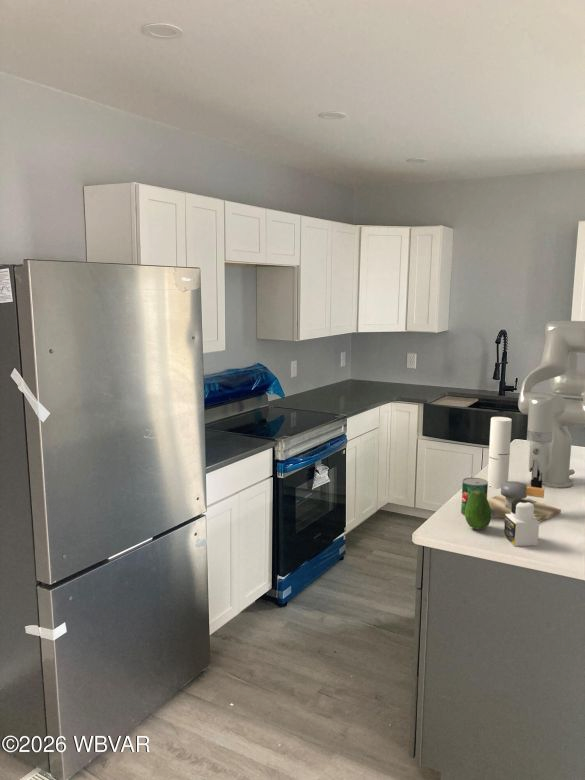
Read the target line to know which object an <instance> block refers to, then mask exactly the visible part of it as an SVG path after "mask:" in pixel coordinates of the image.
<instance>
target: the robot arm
mask: <svg viewBox="0 0 585 780" xmlns="http://www.w3.org/2000/svg"><path fill="white" fill-rule="evenodd" d="M544 330H545V334H544V335H545V341H544V342H545V343H544V347H543V352H542V357H541V360H540V364H539V366H537V367H535V368H534V369H533V370H531V371H530V373H528V375H526V377H525V378H524V380H523V382H522V383H521V384H522V385H521V387H520V392H519V395H518V402H517V404H518V405H517V407H518V409H519V411H520V412H521V413H522V414H524V415H527V429H526V430H527V433H526V440H527V441H528V442H529V455H528V472H529V473H531V478H530V487H537V488H543V486H546V487H550V488H561V489H562V488H569V487H572V486H573V485H574V481H573V479H571V478H570V476H572V475H574V474H575V472H576V471H575V470H574V469H573V468H572V469H570V464H571V453H572V443H573V442H572V435H571V432H570V431H569V430H568V428H567V427H573V428H574V427H576V428H585V370H581V369H578V362H579V361H578V359H579V357H578V354H579V353H580V354H581V353H582V354H584V353H585V321H583V320H563V319H562V320H552V321H549V322H547V323H546V325H545V328H544ZM577 353H578V354H577ZM547 380H549V388H550V391H551V393H547V392H538V391H532V390H533V388H534V387H536V385H539V384H540V383H542V382H545V381H547ZM563 396H568V397H578V398H582V400H576V399H568V398H567V399H566V398H564V397H563Z"/></svg>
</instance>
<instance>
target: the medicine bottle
mask: <svg viewBox="0 0 585 780" xmlns="http://www.w3.org/2000/svg"><path fill="white" fill-rule="evenodd" d="M533 515H534V504H533V503H532V502H530V501H528V500H524V499H517V500H514V501H513V502H512V507H511V514H505V518H504V528H503V529H504V531H503V536H504V538H505V539H506V540H507V541H508V542H509V543H510V544H511V545H512V546H514V547H524V546H525V547H528V546H529V547H530V546H538V544H539V531H540V530H539V529H540V521H539V522H538V521H537V520H536V519H535V518H533Z"/></svg>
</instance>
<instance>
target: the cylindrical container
mask: <svg viewBox="0 0 585 780" xmlns="http://www.w3.org/2000/svg"><path fill="white" fill-rule="evenodd" d="M512 422H513V420H512V418H510V417H507V416H506V417H505V416H492V417H491V418H490V429H489V447H488V448H489V450H488V468H487V481H488V485H489V486H491V487H490V488H492V487H494V488H493V489H499V488H501V484H502V483H503V482H506V481H509V469H510V457H511V453H510V452H511V437H512ZM489 486H488V487H489Z"/></svg>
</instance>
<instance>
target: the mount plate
mask: <svg viewBox="0 0 585 780" xmlns="http://www.w3.org/2000/svg"><path fill="white" fill-rule="evenodd" d="M523 499H524V500H528V501H530V502H532V503H533V504H534V515H533V518H535V519H536V520H537V521H538V522H539V523H540V522H542V521H544V520H547V519H550V518H553V517H556V516H559V515H561V513H562V509H560V508H558V507H554V506H552V505H548V504H546V503H542V502H539V501H536V500H533V499H530V498H527V497H526V498H523ZM487 500H488V503H489V505H490V508H491V515H495V516H498V517H500V518H503V519H505V514H511V507H512V502H513V501H514V500H517V499H513V498H508V497H505V496H503V495H501V494H498V495H496V496H491V497H489V498H488V497H487ZM558 514H559V515H558Z"/></svg>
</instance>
